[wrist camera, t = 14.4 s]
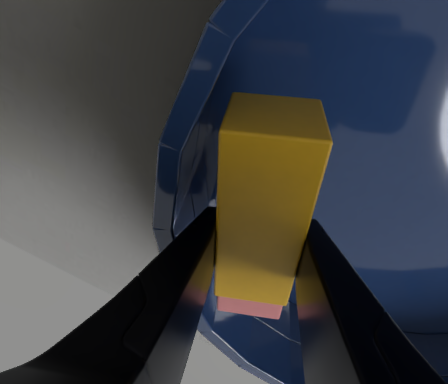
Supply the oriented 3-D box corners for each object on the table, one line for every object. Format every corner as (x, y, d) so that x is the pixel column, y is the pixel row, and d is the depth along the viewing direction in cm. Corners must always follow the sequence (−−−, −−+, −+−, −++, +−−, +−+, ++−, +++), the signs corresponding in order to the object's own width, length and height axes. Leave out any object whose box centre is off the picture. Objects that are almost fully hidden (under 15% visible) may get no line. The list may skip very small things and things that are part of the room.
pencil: (282, 268, 12) (282, 323, 11) (222, 259, 13) (213, 313, 11) (321, 98, 8) (334, 141, 6) (231, 90, 8) (217, 130, 7)
